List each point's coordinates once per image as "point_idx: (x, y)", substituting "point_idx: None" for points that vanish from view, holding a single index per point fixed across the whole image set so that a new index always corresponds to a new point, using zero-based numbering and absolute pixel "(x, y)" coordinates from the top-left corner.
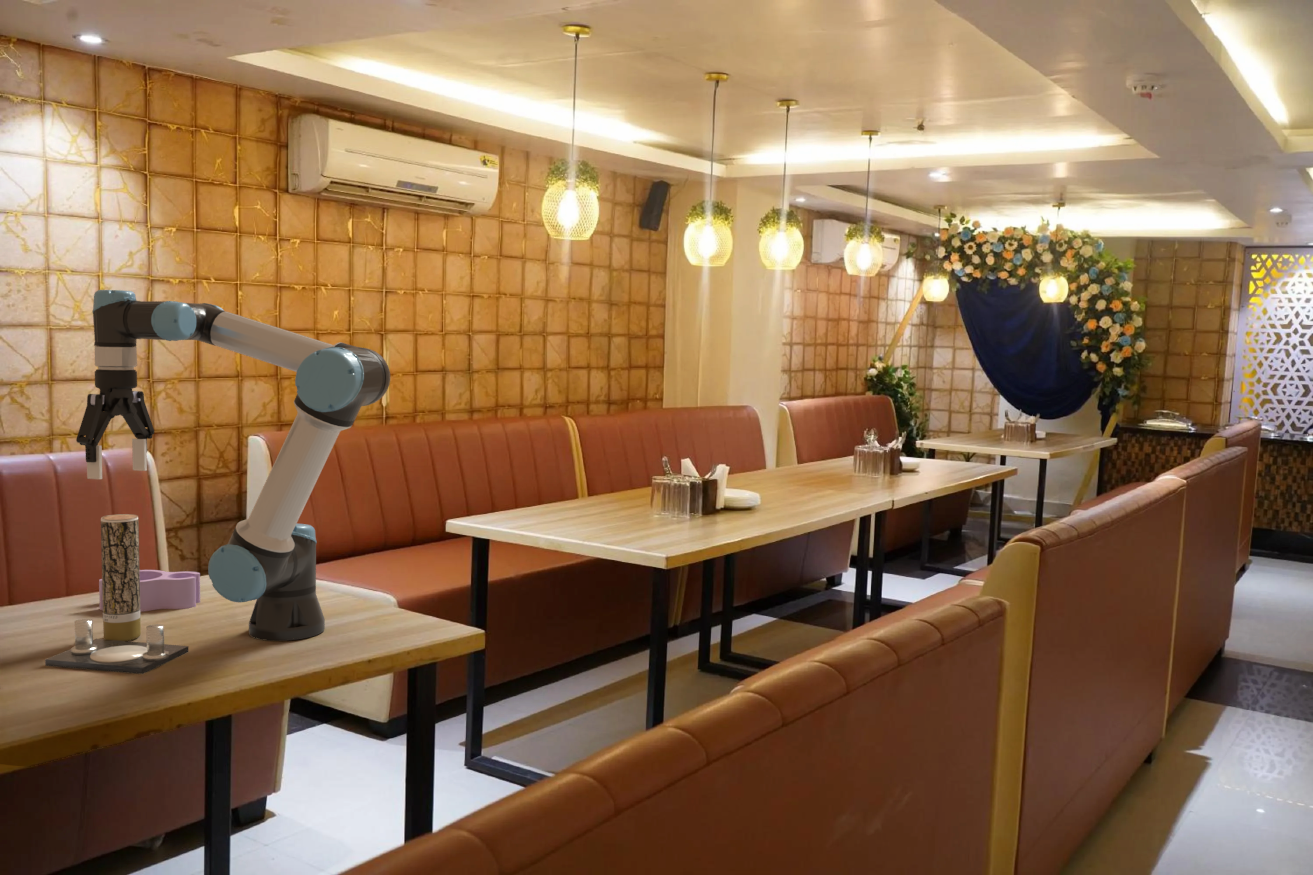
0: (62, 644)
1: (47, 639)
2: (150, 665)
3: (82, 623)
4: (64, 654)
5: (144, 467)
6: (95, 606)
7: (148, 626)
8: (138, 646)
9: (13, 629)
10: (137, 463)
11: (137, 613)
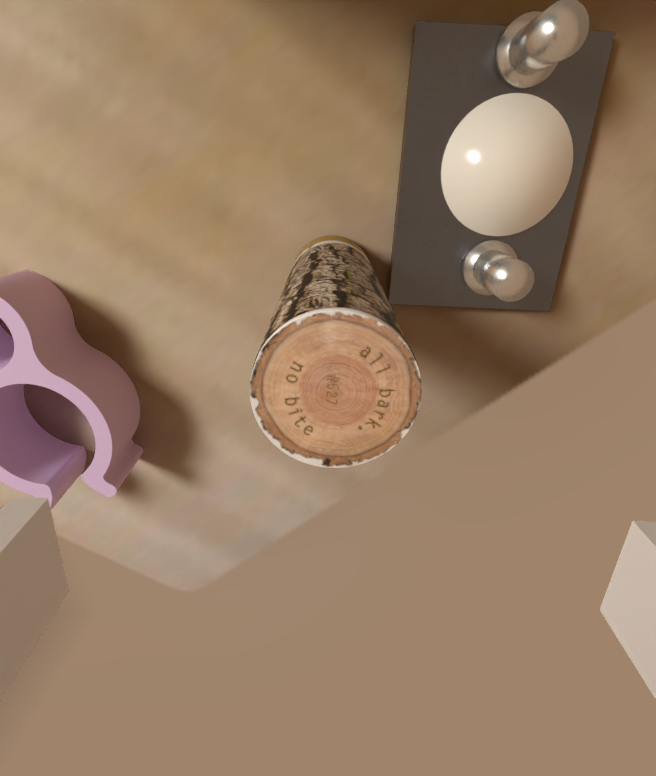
0: None
1: None
2: None
3: (532, 271)
4: None
5: (30, 519)
6: None
7: (564, 52)
8: (448, 156)
9: (318, 510)
10: (24, 606)
11: (332, 242)
